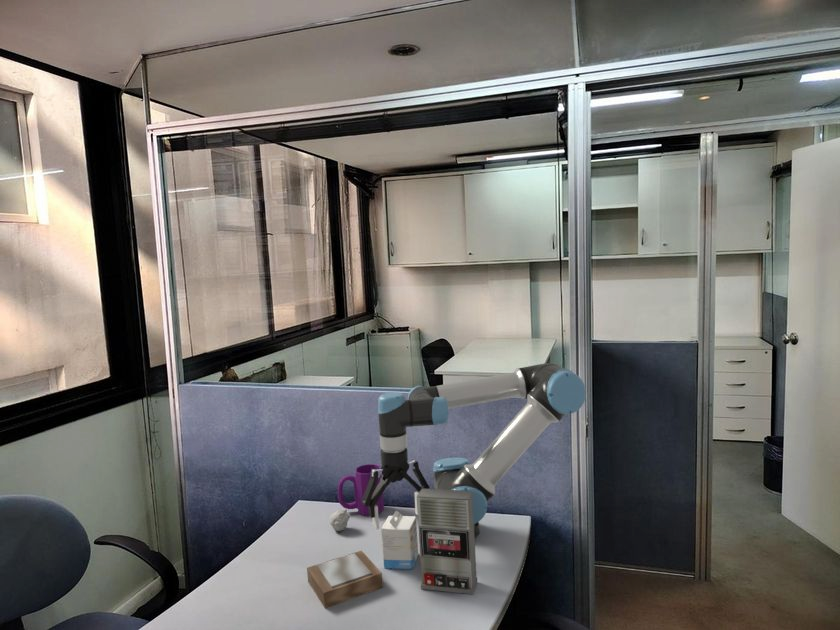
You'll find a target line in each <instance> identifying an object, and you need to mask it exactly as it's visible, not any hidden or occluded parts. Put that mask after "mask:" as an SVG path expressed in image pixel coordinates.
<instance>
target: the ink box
mask: <svg viewBox="0 0 840 630" xmlns="http://www.w3.org/2000/svg"><path fill="white" fill-rule="evenodd" d="M417 527H418V526H417V516H415V515H412V516H410V515H402V513H400V512H399V510H395V512H394V514H393V515H388V516H387V518H386V520H385V521H384V523H383V525H381V528H380V529H381V543H382V555H383V557H382V558H383V568H384V569H390V568H392V569H393V570H395V569H396V570H397V569H398V570H413V569H414V566H415V564H416V561H417V560H418V556H419V545H418V544H419V543H418V542H419V541H418V530H417Z"/></svg>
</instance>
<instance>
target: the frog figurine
mask: <svg viewBox="0 0 840 630" xmlns="http://www.w3.org/2000/svg"><path fill="white" fill-rule="evenodd" d="M350 519H351V513H350V512H349V511H348V509H346V508H340V509H338V510H337V511H334V512H333V513H332V514H331V515H330V516H329V524H330V526H331V527H332V528H333V530H334V531H337V532H343V531H344V530H345V529H346V527H347V526H348V522H349V521H350Z"/></svg>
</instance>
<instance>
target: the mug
mask: <svg viewBox="0 0 840 630" xmlns="http://www.w3.org/2000/svg"><path fill="white" fill-rule="evenodd" d="M381 467H382V466H380V465H377V464H373V463H372V464H371V463H370V464H369V463H368V464H363V465H360V466H358V467H356V468H355V476H354V475H350V474H348V475H344V476H343V477H342V478H341V479H340V481H339V483H338V486H337V499H338V502H339V505H341V507H342V508H343V509H346V510H355V509H357V512H358V514H359V515H363V516H366V517H368V516H369V517H370V515H369V506H365V505H364V504H363V503H362V499H363V496H364V493H365V491H366V488H367V485H368V483H369V480H370V477H371V470H372V469H375V470H378V469H381ZM382 476H383V475H382V474H380V477H379V478H378V481H377V484H376V487H377V486H378V484H379V483H380V479H381V478H382ZM346 481H350V482H351V483H353V489H354V491H353V492H354V501H353V502H346V501H345V500H344V497H343V495H344V494H343V486H344V484H345V482H346ZM376 487H375V489H376ZM374 491H375V490H374ZM376 505H377V506H378V514H381V513H382V512H383V511H384V510H385V509H384V508H385V503H384V492H383V493H382V495H381V497H380V498H379V500H378V501H377V503H376Z"/></svg>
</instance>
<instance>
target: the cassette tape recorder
mask: <svg viewBox="0 0 840 630" xmlns="http://www.w3.org/2000/svg"><path fill="white" fill-rule="evenodd" d="M417 510H418V515H417V525H418V526H417V527H418V537H419V538H418V540H419V541H418V542H419V543H418V544H419V557H420V558H419V559H420V569H421V570H420V571H421V572H420V573H421V574H420V575H421V584H420V589H421V590H425V591H426V590H429V591H438V592H439V591H441V592H449V593H458V594H466V595H467V594H468V595H475V590H476V588H477V584H478V576H477V561H476V558H477V557H476V542H475V540H476V539H475V538H476V537H474V518H473V499H472V491H460V490H442V489H435V488H429V489H423V488H422V489H421V491H420V492H419V494H418V495H417Z"/></svg>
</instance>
